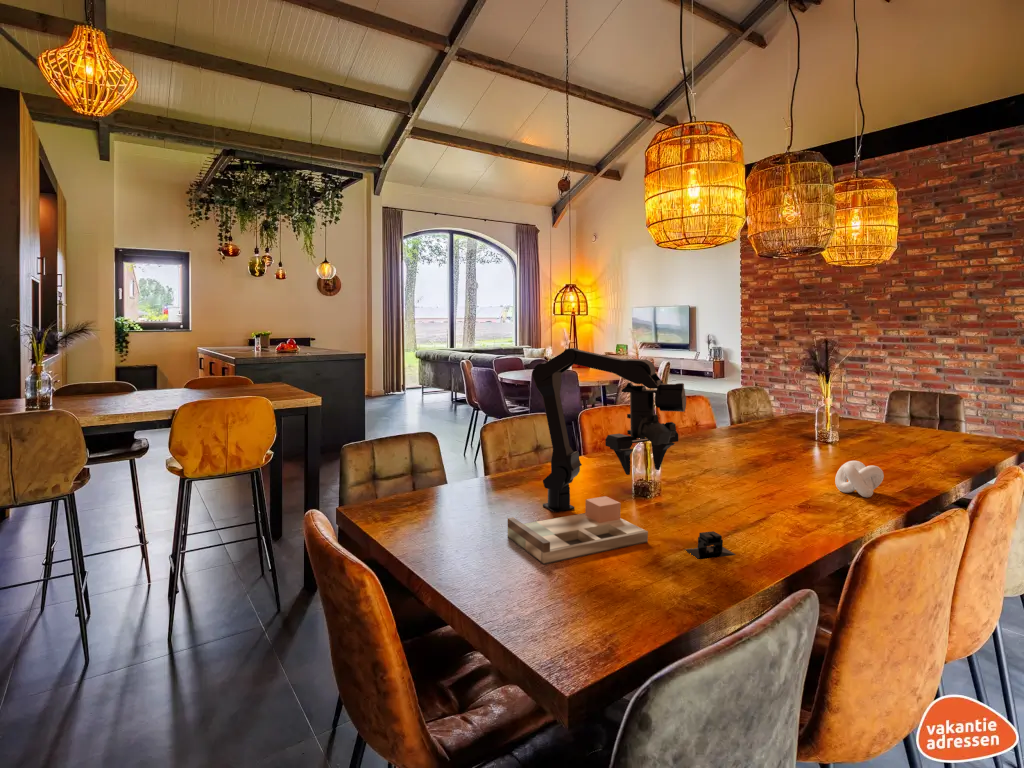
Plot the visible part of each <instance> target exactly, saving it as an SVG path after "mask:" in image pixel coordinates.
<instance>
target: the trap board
mask: <svg viewBox="0 0 1024 768" xmlns="http://www.w3.org/2000/svg"><path fill="white" fill-rule="evenodd" d="M648 536H649V531H648V530H646V529H644V528H642V527H639V526H638V525H636V524H633V523H631V522H629V521H627V520H626V519H623V518H621V517H620V519H618V520H613V521H607V522H602V523H599V522H597V521H595V520H593V519H591V518H589V517H588V516H586V515H585V512H584V513H578V514H573V515H567V516H561V517H555V518H548V519H544V520H537V521H532V522H527V523H523V522H522V521H520V520H518V519H517V518H515V517H514V516H511V517H507V538H508V539H509V540H510V541H512V542H514V543H515V544H516V545H517V546H519V547H520V548H522V550H524V551H526V553H528V554H529V555H530V556H532V557H533V558H534V559H536V561H538V562H540V563H541V564H542V565H544V566H545V565H549V564H553V563H557V562H562V561H567V560H572V559H577V558H581V557H585V556H591V555H595V554H600V553H604V552H609V551H613V550H619V549H622V548H628V547H632V546H636V545H641V544H645V543H648V541H649V538H648Z"/></svg>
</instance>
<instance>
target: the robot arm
mask: <svg viewBox="0 0 1024 768" xmlns="http://www.w3.org/2000/svg"><path fill="white" fill-rule="evenodd" d="M574 365H577V366H581V367H584V368H590V369H594V370H597V371H598V370H599V371H602V372H607V373H611V374H615V375H616V376H619V377H620V378H622V379H624V380H626V381H628V382H627V384H626V386H624V388H622V389H621V392H622V393H627V394H628V393H629V404H630V405H629V406H630V408H629V409H630V411H629V413H627V414H626V415H627V416H626V418H627V419H629V421H630V429H628V430H626V431H627V434H623V433H614V434H607V436H606V438H605V439H604V441H605V447H608V448H609V449H610V450H613V452H614V454H615V455H616V456H617V458H618V460H619V462H620V465H621V467H622V469H623V471H624V473H625V475H627V476H630V475H631V454H632V453H633V451H634V448H632V446H633V444H637V443H644V442H646V443H647V442H651V443H650V444H651V445H650V446H651V450H652V459H653V460H652V461H653V464H654V470H656V471H659V470H660V468H661V466H662V464H663V460H664V458H665V455H666V453H667V450H669V449H670V448H671V447H672V446H674V445H676V444H675V443H676V442H679V433H678V431H677V428H676V427H677V426H676V423H675V422H673V421H669V422H665V423H661V422H660V421H659V416H658V414H656V413H655V407H656V409H659V411H660V412H682V413H683V412H686V407H687V395H686V390H685V384H684V383H683V382H681V383H680V382H678V383H664V382H663V381H662V379H661V377H659V375H658V374H657V372H656V366H655V365H654V363H653V362H652V361H651V360H649V359H644V358H643V359H642V358H639V359H638V358H617V357H613V356H610V355H604V354H602V353H597V352H591V351H587V350H582V349H578V348H577V347H569V348H566V349H565V350H564V351H562V352H561V353H559V354H557V355H555V356H554V357H553V358H551V359H549V360H547V361H546V362H541V363H538V364H536V365H535V366H534V367H533V369H532V371H531V375H532V379H533V381H534V384H535V387H536V389H537V391H538V392H539V393H540V396H541V397H542V402H543V406H544V410H545V411H544V412H545V416H546V422H547V425H548V426H547V427H548V430H549V436H550V441H551V446H552V454H551V460H550V470H551V471H550V473H549V474H548V475H547V476H546V477H544V479H542V483H543V486H544V488H545V489H547V502H545V503H542V506H543V507H545V508H546V509H548V510H549V511H551V512H553V513H557V512H559V513H560V512H563V511H570V510H575V506H573V505H571V488H570V484H572V482H573V481H574V478H576V477H577V476H578V474H579V473H580V471H581V466H582V465H583V464H582V463H581V461H580V452H579V450H576V451H574V450H573V449H572V447H571V445H570V441H569V435H568V431H567V426H566V425H567V424H566V419H565V413H564V410H563V405H562V399H561V389H562V388H561V387H562V383H563V382H562V381H563V380H562V374H564V372H566V371H568V370H569V369H570V368H571V367H573V366H574ZM633 383H634V384H636V385H634V384H633Z"/></svg>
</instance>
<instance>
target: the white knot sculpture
mask: <svg viewBox="0 0 1024 768" xmlns="http://www.w3.org/2000/svg"><path fill="white" fill-rule="evenodd" d="M884 477H885V475H884V471H883V470H882V468H880V467H879V466H877V465H867V466H866V465H865V464H864V463H863V462H862V461H859V460H849V461H846V462H845V463H843V464H841V466H840V467H839V469H838V470H837V472H836V474H835V479H834V480H835V481H834V483H835V486H836V488H837V489H838V490H839V491H840V492H842V493H844V494H848V493H853V492H855V491H856V492H857V493H858V495H860V496H861V497H863V498H871V497H872V496H873V494H874V490H875V489H877V488H878V487H879V486H880V485H881V484H882V482H883V480H884Z"/></svg>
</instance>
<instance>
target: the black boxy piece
mask: <svg viewBox="0 0 1024 768" xmlns="http://www.w3.org/2000/svg"><path fill="white" fill-rule="evenodd" d="M722 538H723V537H722V535H721V534H719V533H717V532H716V531H715V530H713V531H705V532H704V531H702V532H699V535H698V537H697V547H696V548H694V549H693V548H685V549H683V551H685V550H686V551H687V552H686V551H685V552H686V553H687V554H689V555H690V553H691V555H690V556H692V555H693V556H695V557H696V558H697V559H700V560H706V559H707V558H708V559H714V558H715V559H716V558H723V557H730V556H737V554H736V553H734V552H732V551H731V550H729V549H728V548H725V546H724V540H723V539H722ZM693 556H692V557H693ZM696 558H695V559H696ZM697 559H696V560H697Z"/></svg>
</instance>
